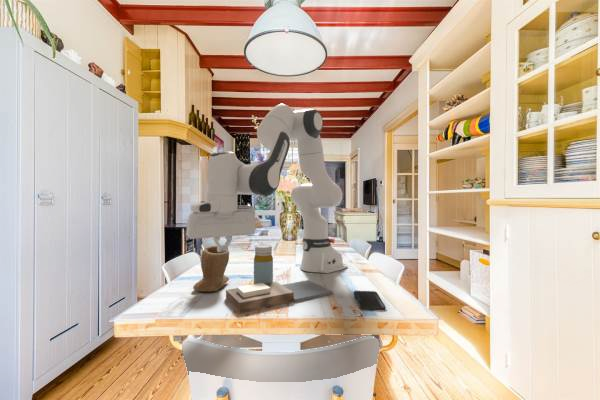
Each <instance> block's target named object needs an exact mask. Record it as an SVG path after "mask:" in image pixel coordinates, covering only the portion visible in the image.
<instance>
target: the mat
mask: <svg viewBox="0 0 600 400" xmlns="http://www.w3.org/2000/svg"><path fill="white" fill-rule="evenodd" d="M281 285H282V286H284V287H286V288H287V289H289V290H291V291H293V292H294V301H293V302H294V303H298V302H303V301H308V300H312V299H317V298H323V297H325V296H330V295H333V294H334V291H333V290H331V289H329V288H327V287H326V286H325V287H324V286H323V285H320V284H319V283H316V282H314V281H312V280H310V279H307V280H303V281H302V280H301V281H295V282H291V283H290V282H289V283H284V284H281Z"/></svg>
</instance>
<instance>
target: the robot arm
mask: <svg viewBox="0 0 600 400" xmlns="http://www.w3.org/2000/svg"><path fill="white" fill-rule="evenodd" d="M323 120H324V119H323V116H322V114H321V113H320V112H319V111H318V110H317V109H314V108H307V109H302V110H301V109H299V110H293V108H292V107H291V106H289V105H287V104H284V103H280V104H277V105H275V106H274V107H273V108H272V109H270V110H269V112H268V113H267V114H266V115H265V116H264V118H262V120H261V121H260V123H259V125H258V127H257V130H256V136H257V140H258V142H259V143H260V145H262V146H263V147H264V148H265V149H266V150H268V151H269V153H268V154H267V157H266V159H265V160H264V161H262V162H259V163H251V164H245V163H244V162H242V161H241V160H239V159H238V158H237V156H236V152H233V151H222V152H221V151H220V152H219V151H218V152H214V153H212V154H210V156H209V157H208V160H207V165H206V166H207V169H206V182H207V185H208V190H207V194H206V198H207V199H205V200H202V201H199V202H196V203H193V204H191V205H190V211H191V213H190V214H189V215H188V218H187V223H186V236H187V237H188V239H191V240H195V239H209V238H212V239H213V242H214V244H215V246H217V252H225V251H229V246H230V244H231V242H232V240H233V237H235V236H237V237H238V236H249V235H250V236H251V235H254V234H255V233H256V232H257V231H256V230H257V227H256V220H255V216H256V209H255V207H254V206H251V205H250V204H246V205H244V204H238V203H239V202H238V197H239V195H247V196H248V195H250V196H251V195H255V196H256V195H257V196H263V197H268V196H269V197H270V196H271V195H273V194H274V193H275V192H276V190H277V189H278V187H279V186H280V179H281V174H282V170H283V168H284V165H285V162H286V159H287V156H288V154H289V150H290V145H291V140H297V153H298V160H299V161H298V163H299V170H300V172H301V174H302V175H304V176H305V177H307V178H308V180H309V181H310V183H302V184H298V185H295V186H294V187H293V188H292V190H291V192H290V197H291V202H292V203H293V204H294V205H295V206H296V207H297V209H298V210H299V212H300V215H301V218H302V223H303V237H302V258H301V262H300V267H299V269H300V270H302V271H304V272H309V273H322V274H329V273H333V272H337V271H340V270H344V269H345V270H346V269H348V268H349V267H348V266H349V265H348V264H347V263H345V262H344V261H343V256H342V253H340V251H338V250H337V249H336V248H335V247H333V246H332V244H335V242H336V239H335V238H332V237H331V238H329V237H328V236H329V235H328V234H329V228H328V227H329V223H328V220H327V218H326V217H324V216H323V215H322V214H321V213H320V210H319V208H320V209H321V208H322V209H330V208H335V207H338V206H340V204H341V202H342V200H343V196H344V195H343V191H342V188H341V187H340V186H339V185H338V184H336V183H335V182H334V180H333V179H332V178H331V177H330V175H329V173H328V171H327V167H326V162H325V156H324V148H323V142H322V138H321V135H320V134H321V132H322V130H323V127H324V126H323V125H324V121H323ZM222 237H223V238H225V240H226V241H225V243H224V244H220V242H219V241H221V240H220V239H221V238H222Z"/></svg>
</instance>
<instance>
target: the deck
mask: <svg viewBox="0 0 600 400" xmlns="http://www.w3.org/2000/svg"><path fill="white" fill-rule="evenodd" d="M264 284H265V285H267V286H269V287H270V288H271V292H270V293H265V294H260V295H255V296H249V297H242V296H241V295H240V294H239V293H238V292H237V287H236V288H229V289H225V300H226V301H227V302H228V303H229V304H230V305H231V306H232V307H233V308H234V309H235V310H236V311H237V312H238V313H239V314H242V313H247V312H251V311H255V310H257V311H258V310H260V309H265V308H269V307H274V306H278V305H279V306H280V305H284V304H287V303H292V302H294V292H293V291H291V290H289V289H287V288H286V287H284V286H282V285H283V284H281V283H279V282H277V281H273V282H270V283H264Z"/></svg>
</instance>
